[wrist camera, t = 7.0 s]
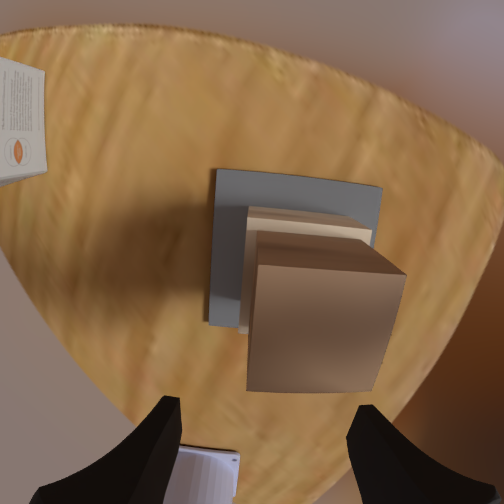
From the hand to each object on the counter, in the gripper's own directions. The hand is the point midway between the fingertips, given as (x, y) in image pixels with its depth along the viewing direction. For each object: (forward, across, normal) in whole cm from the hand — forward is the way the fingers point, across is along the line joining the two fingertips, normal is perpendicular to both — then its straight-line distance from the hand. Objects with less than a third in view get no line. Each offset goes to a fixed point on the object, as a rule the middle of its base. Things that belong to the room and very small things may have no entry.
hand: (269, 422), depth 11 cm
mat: (+10, -2, -4) cm, 11 cm away
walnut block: (+5, -2, -4) cm, 7 cm away
